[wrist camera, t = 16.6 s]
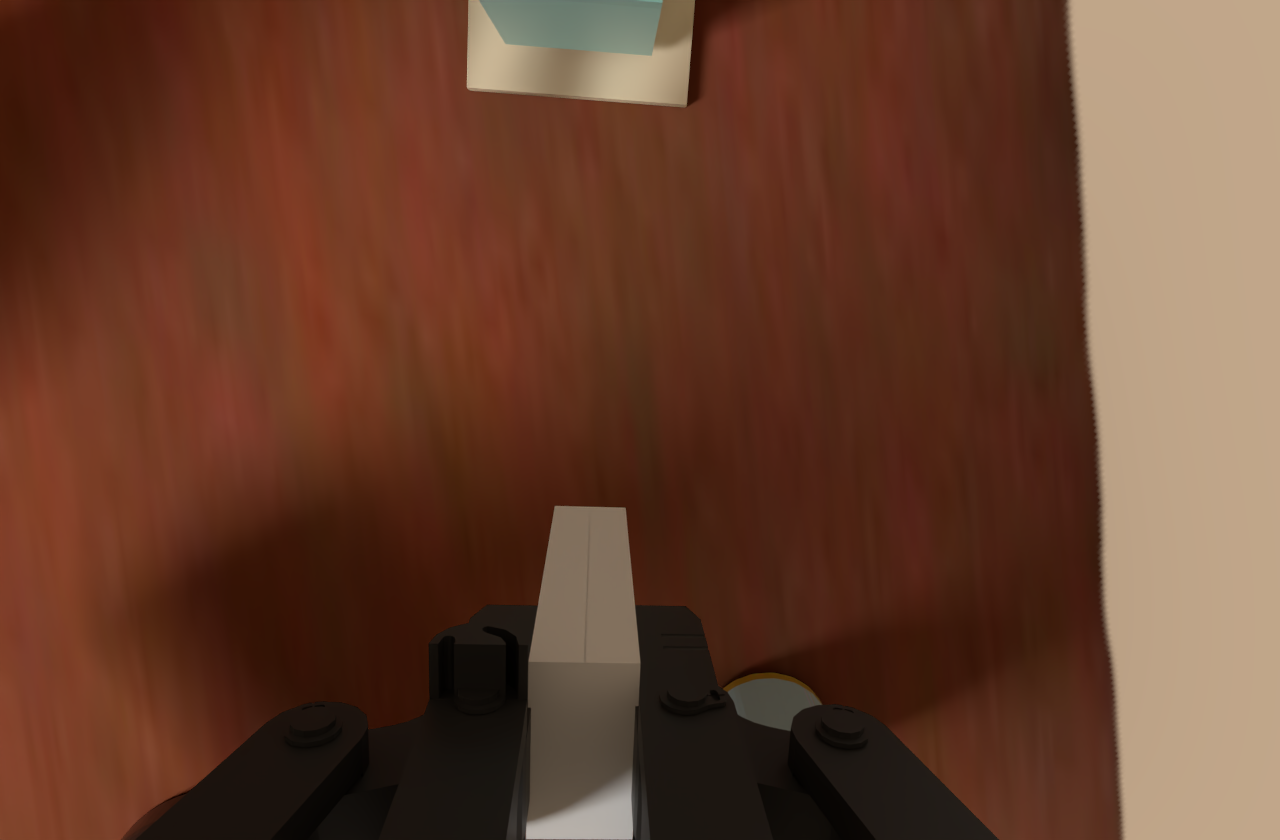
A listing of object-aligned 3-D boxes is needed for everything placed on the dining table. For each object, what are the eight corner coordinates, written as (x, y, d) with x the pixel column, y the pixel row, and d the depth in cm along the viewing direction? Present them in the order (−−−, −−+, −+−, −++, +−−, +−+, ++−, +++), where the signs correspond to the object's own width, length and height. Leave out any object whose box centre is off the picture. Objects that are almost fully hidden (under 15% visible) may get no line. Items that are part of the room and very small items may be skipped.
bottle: (746, 644, 45) (809, 846, 30) (849, 705, 46) (957, 928, 31) (675, 740, 46) (702, 978, 31) (777, 797, 47) (849, 1053, 32)
